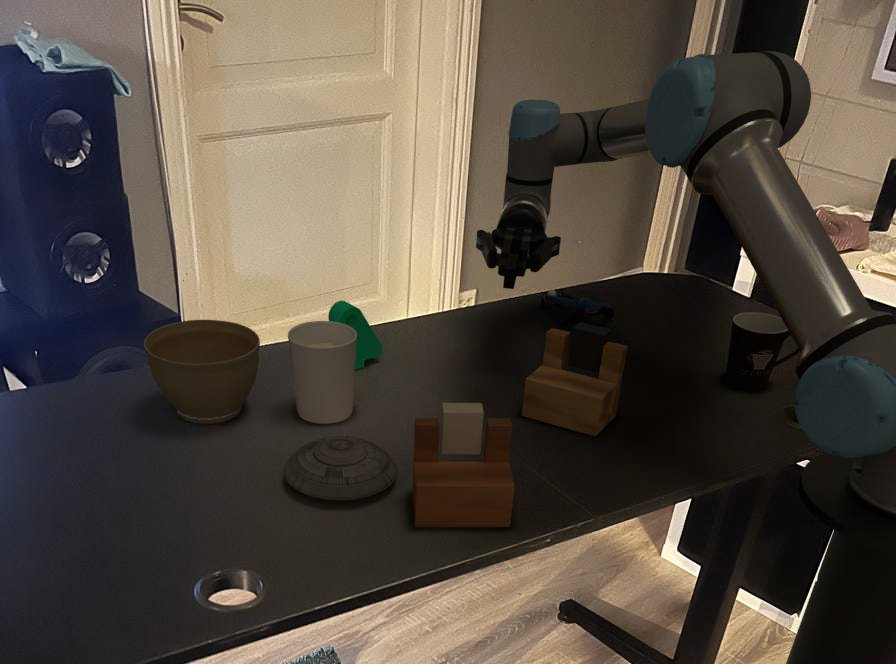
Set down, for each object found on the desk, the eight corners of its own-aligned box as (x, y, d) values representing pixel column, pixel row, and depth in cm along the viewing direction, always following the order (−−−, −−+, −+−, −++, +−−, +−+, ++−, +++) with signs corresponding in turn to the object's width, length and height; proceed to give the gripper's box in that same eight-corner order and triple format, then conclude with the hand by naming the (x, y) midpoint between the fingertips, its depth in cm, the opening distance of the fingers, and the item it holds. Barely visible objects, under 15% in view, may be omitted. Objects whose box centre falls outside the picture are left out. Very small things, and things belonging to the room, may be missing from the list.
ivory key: (440, 444, 125) (442, 402, 122) (478, 444, 125) (481, 402, 122) (441, 454, 123) (443, 412, 119) (480, 454, 123) (483, 412, 120)
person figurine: (525, 318, 180) (587, 338, 167) (525, 293, 178) (588, 312, 165) (571, 308, 185) (635, 327, 172) (572, 283, 182) (637, 300, 169)
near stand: (412, 494, 127) (414, 417, 120) (503, 494, 128) (510, 418, 121) (415, 527, 121) (417, 448, 114) (510, 527, 122) (518, 449, 115)
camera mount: (355, 346, 164) (355, 285, 158) (382, 361, 159) (382, 299, 153) (295, 362, 158) (292, 299, 152) (321, 379, 154) (318, 315, 147)
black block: (574, 359, 147) (580, 321, 144) (605, 366, 145) (611, 329, 142) (567, 365, 146) (572, 327, 142) (598, 373, 144) (604, 335, 140)
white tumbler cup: (332, 433, 140) (330, 353, 132) (278, 415, 144) (273, 336, 136) (370, 408, 146) (370, 330, 139) (318, 391, 150) (315, 315, 143)
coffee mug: (714, 388, 155) (729, 327, 149) (722, 368, 161) (736, 308, 155) (789, 402, 152) (807, 340, 146) (794, 381, 158) (812, 321, 152)
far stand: (543, 396, 151) (551, 327, 144) (615, 416, 147) (628, 346, 140) (521, 416, 146) (528, 345, 139) (595, 436, 141) (607, 365, 134)
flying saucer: (359, 521, 122) (358, 483, 118) (262, 488, 127) (258, 451, 124) (417, 471, 132) (418, 434, 129) (325, 442, 137) (324, 407, 134)
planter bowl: (234, 444, 136) (226, 371, 129) (133, 424, 140) (121, 352, 133) (282, 397, 148) (278, 328, 141) (188, 380, 152) (179, 312, 145)
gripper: (560, 255, 153) (553, 309, 135) (478, 249, 154) (460, 301, 136) (566, 205, 148) (560, 254, 130) (482, 199, 150) (464, 246, 132)
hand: (509, 278), depth 133 cm, fingers closed
